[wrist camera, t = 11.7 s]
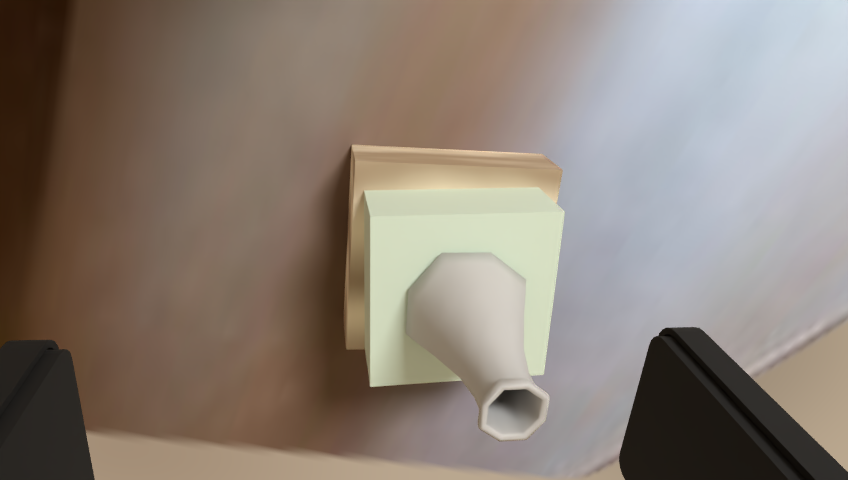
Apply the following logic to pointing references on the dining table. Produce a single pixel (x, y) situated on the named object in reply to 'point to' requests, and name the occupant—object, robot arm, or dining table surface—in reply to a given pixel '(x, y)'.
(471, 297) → the flask
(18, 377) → the robot arm
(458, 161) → the birch base block
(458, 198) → the sage top block
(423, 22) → the dining table surface
